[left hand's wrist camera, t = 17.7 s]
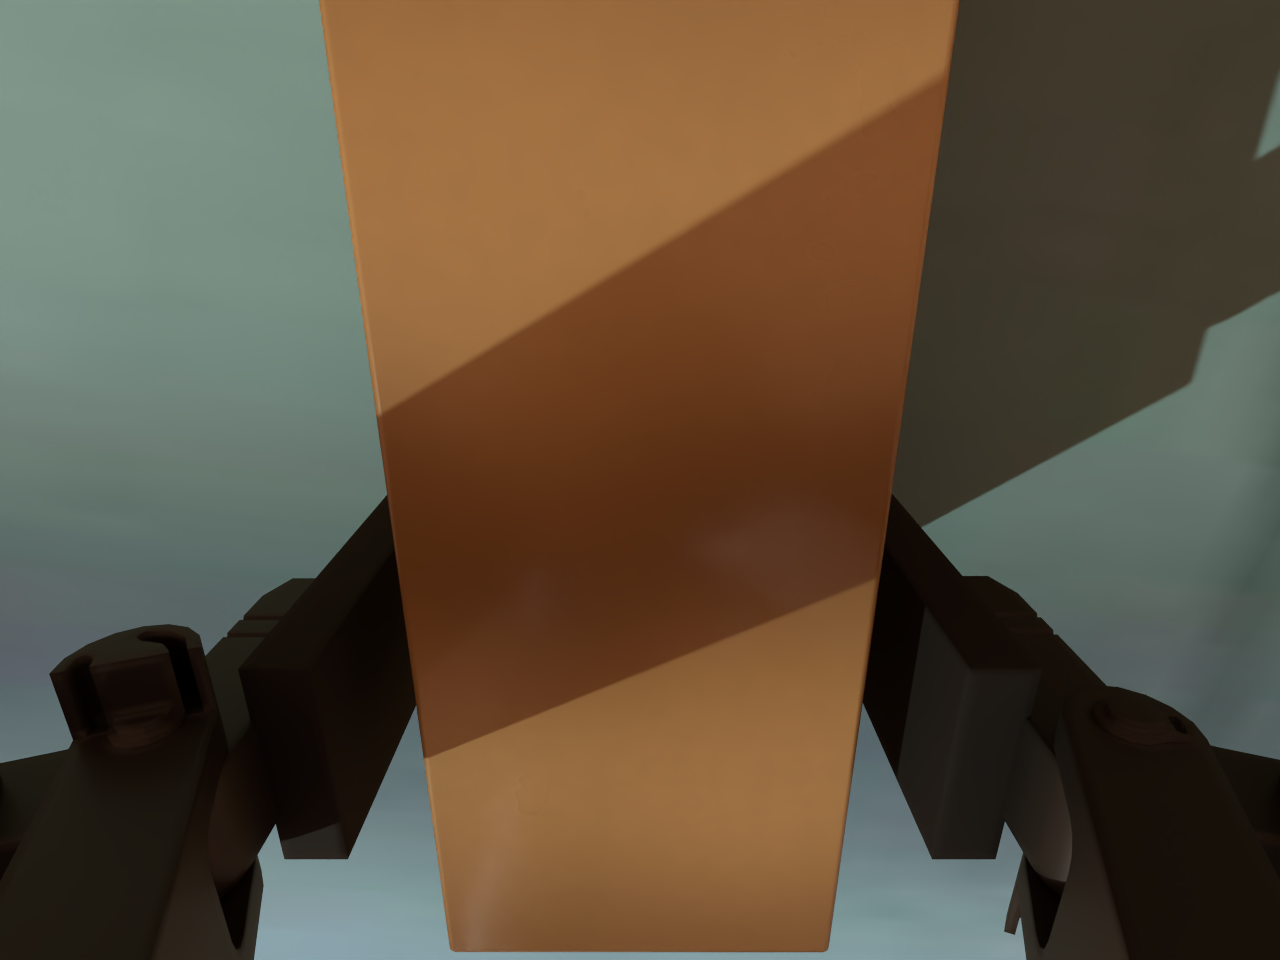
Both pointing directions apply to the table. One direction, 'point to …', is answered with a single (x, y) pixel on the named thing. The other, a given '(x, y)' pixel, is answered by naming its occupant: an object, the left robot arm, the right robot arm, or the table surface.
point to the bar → (639, 434)
